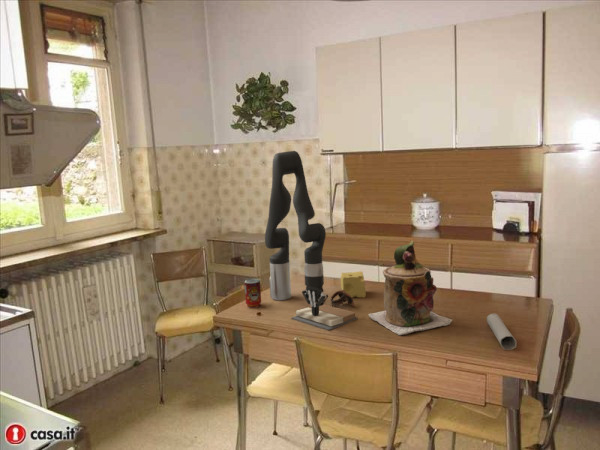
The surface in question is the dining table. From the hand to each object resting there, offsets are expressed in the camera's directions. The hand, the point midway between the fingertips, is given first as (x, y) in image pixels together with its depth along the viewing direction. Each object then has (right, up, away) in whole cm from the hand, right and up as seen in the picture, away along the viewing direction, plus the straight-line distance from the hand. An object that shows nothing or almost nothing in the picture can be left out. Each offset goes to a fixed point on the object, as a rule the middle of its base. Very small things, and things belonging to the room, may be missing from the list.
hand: (315, 315), depth 201 cm
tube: (+66, -4, -22) cm, 69 cm away
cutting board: (+4, -2, +4) cm, 6 cm away
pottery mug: (+13, 0, +19) cm, 23 cm away
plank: (+2, -2, +2) cm, 3 cm away
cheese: (+19, +3, +35) cm, 39 cm away
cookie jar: (+37, -2, -3) cm, 37 cm away
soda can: (-27, 0, +25) cm, 37 cm away
